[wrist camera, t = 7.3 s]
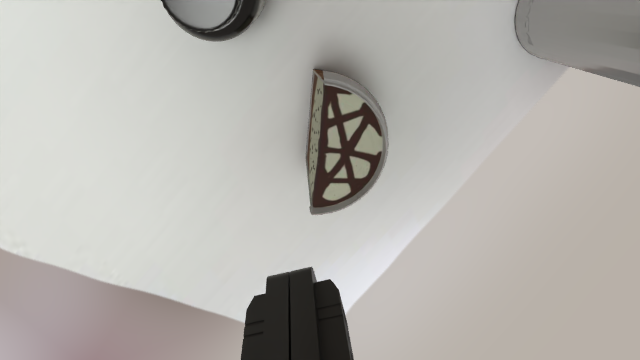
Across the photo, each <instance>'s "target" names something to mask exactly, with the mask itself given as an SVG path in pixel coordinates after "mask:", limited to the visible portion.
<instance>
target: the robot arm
mask: <svg viewBox="0 0 640 360" xmlns="http://www.w3.org/2000/svg"><path fill="white" fill-rule="evenodd" d="M515 24H516V33H517V36H518V39H519V41H520V43H521V44H522V46H523V48H524V49H526V50H527V51H528V52H529V53H530V54H532V55H534V56H536V57H539V58H542V59H546V60H549V61H553V62H556V63H560V64H563V65H566V66H569V67H573V68H576V69H580V70H583V71H587V72H590V73H593V74H597V75H600V76H604V77H607V78H611V79H614V80H618V81H621V82H625V83H628V84H632V85H635V86H638V87H640V0H519V3H518V7H517V10H516V19H515ZM241 360H354V359H353V353H352V348H351V342H350V337H349V331H348V326H347V320H346V316H345V312H344V309H343V305H342V301H341V297H340V293H339V289H338V288H337V287H336V286H335V284H334V283H333V282H332V281H331V280H330V279H329V280H324V281H320V282H317V281H316V277H315V274H314V271H313V268H312V267H308V268H304V269H299V270H295V271H291V272H286V273H282V274H277V275H273V276H268V277H267V282H266V294H261V295H257V296H254V298H253V299H252V301H251V303H250V305H249V307H248V308H247V311H246V320H245V328H244V339H243V345H242V354H241Z"/></svg>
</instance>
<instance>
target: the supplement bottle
mask: <svg viewBox="0 0 640 360" xmlns="http://www.w3.org/2000/svg"><path fill="white" fill-rule="evenodd" d="M161 1H162V2H163V6H164V8H165V9H166V11H167V12H168V14H169V15H170V17H171V18H172V19H173V20H174V22H175V23H176V24H177V25H178V26H179V27H181V28H182V29H183V30H184V31H186V32H187V33H189V34H191V35H192V36H194V37H197V38H199V39H202V40H206V41H225V40H229V39H232V38H234V37H237V36H238V35H240V34H242V33H243V32H244V31H245V30H247V29H248V28H249V27H250V25H251V24H252V23H253V22H254V21H255V20H256V19H257V17H258V16H259V15H260V13H261V11H262V9H263V7H264V4H265V0H161Z"/></svg>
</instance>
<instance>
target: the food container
mask: <svg viewBox="0 0 640 360" xmlns="http://www.w3.org/2000/svg"><path fill="white" fill-rule="evenodd" d="M388 146H389V145H388V131H387V125H386V121H385V117H384V114H383V112H382V110H381V107H380V106H379V104H378V103H377V101H376V100H375V98H374V97H373V96H372V95H371V94H370V93H369V91H368V90H367V89H366V88H364V87H363V86H362V85H360V84H359V83H358V82H356V81H354V80H352V79H350V78H349V77H347V76H344V75H341V74H338V73H335V72H329V71H322V70H316V69H313V77H312V89H311V100H310V112H309V123H308V135H307V146H306V166H307V176H308V185H309V195H310V205H311V206H310V212H311V214H312V215H322V214H327V213H332V212H336V211H339V210H342V209H344V208H346V207H348V206H350V205H352V204H354V203H355V202H357V201H358V200H360V199H361V198H362V197H363V196H364V195H366V194H367V193H368V192H369V190H370V189H371V188H372V187H373V186H374V184H375V183H376V181H377V180H378V178H379V176H380V174H381V172H382V170H383V168H384V166H385V162H386V159H387V154H388Z"/></svg>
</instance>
